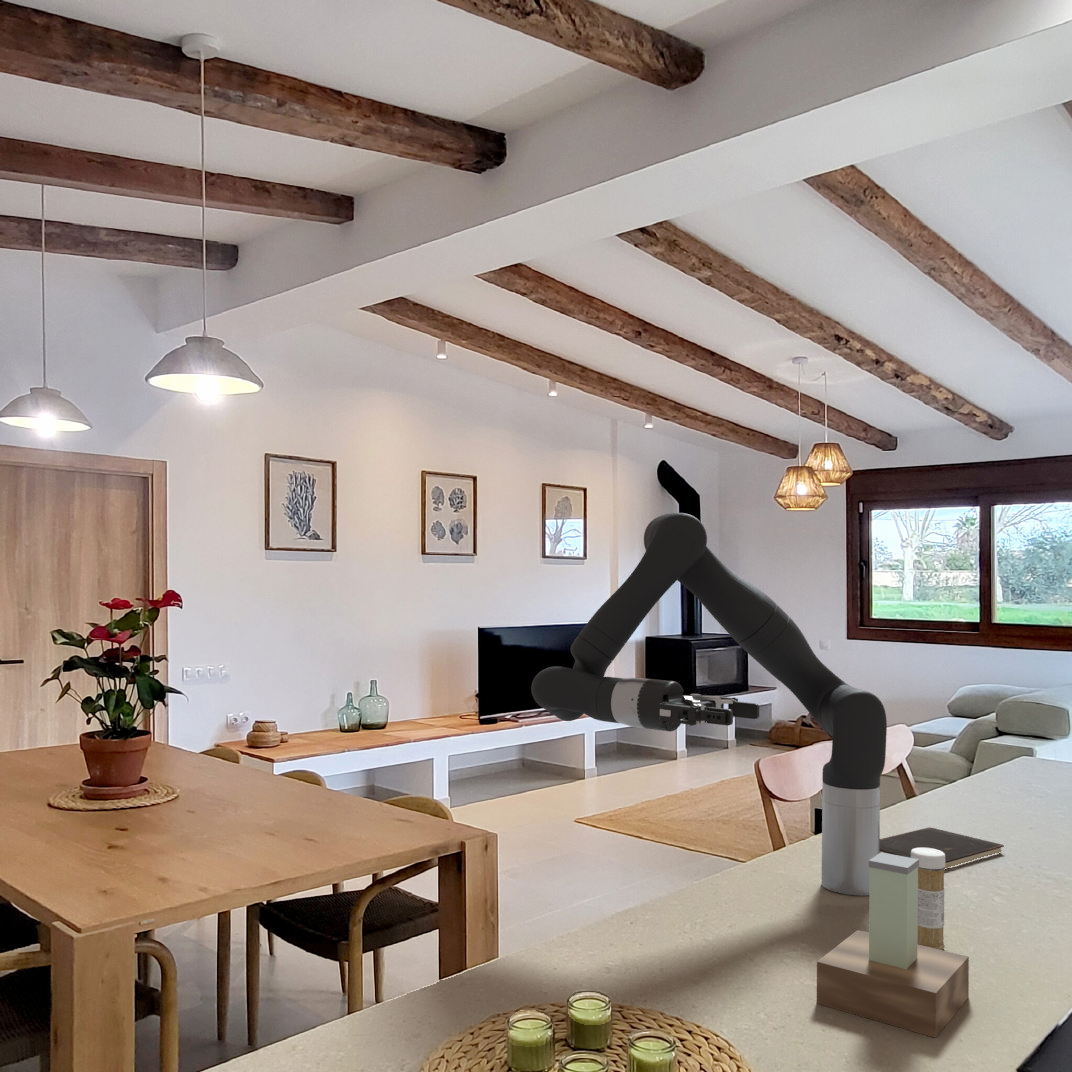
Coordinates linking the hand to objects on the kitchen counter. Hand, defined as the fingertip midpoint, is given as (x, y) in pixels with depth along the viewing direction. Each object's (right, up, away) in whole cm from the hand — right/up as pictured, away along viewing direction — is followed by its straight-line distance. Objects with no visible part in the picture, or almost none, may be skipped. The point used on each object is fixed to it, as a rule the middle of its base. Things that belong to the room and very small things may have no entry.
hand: (745, 714), depth 142 cm
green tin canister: (+14, -27, -20) cm, 36 cm away
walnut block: (+14, -32, -20) cm, 40 cm away
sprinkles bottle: (+25, -33, -2) cm, 41 cm away
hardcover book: (+45, -35, +46) cm, 73 cm away
